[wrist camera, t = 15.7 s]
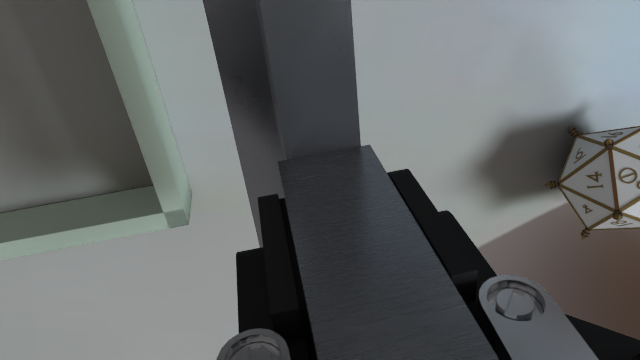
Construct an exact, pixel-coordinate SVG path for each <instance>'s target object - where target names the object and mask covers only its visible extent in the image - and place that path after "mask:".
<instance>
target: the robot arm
mask: <svg viewBox="0 0 640 360" xmlns="http://www.w3.org/2000/svg"><path fill="white" fill-rule="evenodd" d="M387 174H388V176H389V178H390V179H391V181H392V183H393V184H394V186H395V188H396V189H397V191H398V193H399V194H400V196H401V198H402V199H403V201H404V203H405V204H406V206H407V207H408V209H409V211H410V212H411V214H412V216H413V217H414V219H415V221H416V222H417V224H418V226H419V227H420V229H421V231H422V232H423V234H424V236H425V237H426V239H427V241H428V242H429V244H430V246H431V247H432V249H433V251H434V252H435V254H436V256H437V257H438V259H439V261H440V262H441V264H442V266H443V267H444V269H445V271H446V272H447V274H448V276H449V277H450V279H451V281H452V282H453V284H454V286H455V287H456V289H457V291H458V292H459V294H460V296H461V297H462V299H463V301H464V302H465V304H466V306H467V307H468V309H469V311H470V312H471V314H472V316H473V317H474V319H475V321H476V322H477V324H478V326H479V327H480V329H481V331H482V332H483V334H484V336H485V337H486V339H487V341H488V342H489V344H490V345H491V347H492V349H493V350H494V352H495V354H496V355H497V357H498V359H499V360H640V340H637V339H635V338H632V337H629V336H626V335H623V334H620V333H617V332H615V331H612V330H609V329H606V328H603V327H600V326H597V325H595V324H592V323H589V322H586V321H583V320H580V319H577V318H574V317H572V316H569V315H566V314H564V313H563V312H562V310H561V309H560V308H559V306H558V305H557V304H556V302H555V301H554V300H553V298H552V297H551V296H550V294H549V293H548V292H547V291H546V290H545V289H544V288H543V287H542V286H540V285H538V284H537V283H536V282H534V281H532V280H530V279H527V278H524V277H521V276H515V275H499V276H497V275H496V274H495V272H494V271H493V269H492V268H491V267H490V265H489V264H488V263H487V261H486V260H485V259H484V257H483V256H482V254H481V253H480V252H479V250H478V249H477V248H476V246H475V245H474V243H473V242H472V241H471V239H470V238H469V237H468V235H467V234H466V233H465V231H464V230H463V228H462V227H461V226H460V224H459V223H458V222H457V220H456V219H455V217H454V216H453V215H452V214H451V213H450V212H449V211H447V210H446V211H441V212H438V211H437V209H436V208H435V206H434V205H433V204H432V202H431V201H430V199H429V198H428V196H427V195H426V193H425V192H424V191H423V189H422V188H421V186H420V185H419V183H418V182H417V180H416V179H415V178H414V176H413V175H412V173H411V172H410V171H409V169H404V170H398V171H393V172H388V173H387ZM258 207H259V216H260V224H261V233H262V242H263V247H261V248H257V249H252V250H247V251H242V252H237V254H236V266H237V294H238V322H239V334H237V335H236V336H234V337H233V338H231V339H230V340H229V341H228V342H227V343H226V344H225V345H224V346H223V347H222V348H221V350H220V353H219V355H218V357H217V360H316V355H315V350H314V344H313V338H312V333H311V327H310V321H309V316H308V310H307V305H306V300H305V295H304V290H303V285H302V280H301V276H300V271H299V266H298V261H297V256H296V251H295V246H294V241H293V237H292V232H291V227H290V222H289V217H288V212H287V207H286V202H285V198H281V199H279V196H278V193H277V194H272V195H267V196H262V197H258Z"/></svg>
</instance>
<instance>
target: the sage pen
mask: <svg viewBox="0 0 640 360" xmlns="http://www.w3.org/2000/svg"><path fill="white" fill-rule="evenodd" d="M87 3H88V6H89V8H90V11H91V14H92V17H93V20H94V22H95V25H96V28H97V31H98V33H99V36H100V39H101V42H102V44H103V47H104V50H105V53H106V55H107V58H108V61H109V64H110V66H111V69H112V72H113V75H114V77H115V80H116V83H117V86H118V88H119V91H120V94H121V97H122V100H123V102H124V105H125V108H126V111H127V113H128V116H129V119H130V122H131V124H132V127H133V130H134V133H135V135H136V138H137V141H138V144H139V146H140V149H141V152H142V155H143V157H144V160H145V163H146V166H147V168H148V171H149V174H150V177H151V180H152V182H153V186H148V187H142V188H137V189H131V190H126V191H120V192H115V193H109V194H104V195H98V196H93V197H87V198H82V199H76V200H71V201H65V202H60V203H54V204H49V205H43V206H38V207H32V208H27V209H21V210H16V211H10V212H5V213H0V260H6V259H11V258H16V257H21V256H27V255H32V254H37V253H42V252H48V251H53V250H58V249H63V248H69V247H74V246H79V245H84V244H90V243H95V242H100V241H105V240H110V239H116V238H121V237H126V236H131V235H137V234H142V233H147V232H152V231H158V230H163V229H168V228H173V227H179V226H184V225H189V217H190V208H191V199H192V192H191V189H190V186H189V183H188V179H187V176H186V173H185V170H184V167H183V163H182V160H181V157H180V154H179V151H178V147H177V144H176V141H175V138H174V134H173V131H172V128H171V125H170V122H169V118H168V115H167V112H166V109H165V106H164V102H163V99H162V96H161V93H160V90H159V86H158V83H157V80H156V77H155V74H154V70H153V67H152V64H151V61H150V58H149V54H148V51H147V48H146V45H145V42H144V38H143V35H142V32H141V29H140V26H139V22H138V19H137V16H136V13H135V10H134V6H133V3H132V0H87Z"/></svg>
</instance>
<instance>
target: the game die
mask: <svg viewBox="0 0 640 360" xmlns="http://www.w3.org/2000/svg"><path fill="white" fill-rule="evenodd" d="M569 133H570V134H571V136H574V137H575V139H574V142H573V144H572V147H571V149H570V152H569V154H568V157H567V159H566V162H565V164H564V167H563V169H562V172H561V174H560V177H559V180H558V182H555V181H550V182H549V183H548V184H546V185H545V186H548V187H549V188H551V189H552V188H556V187H559V189H560V190H561V192H562V193H563V195H564V196H565V198H566V199H567V201H568V202H569V204H570V205H571V207H572V208H573V209H574V211H575V212H576V214H577V215H578V217H579V218H580V220H581V221H582V223H583V224H584V226H585V227H586V228H585V229H584V230H583V232H582V233H581V236H582V239H584V238H586V237H588V235H589V234H590V230H604V229H634V228H635V229H636V228H640V126H637V127H630V128H623V129H616V130H608V131H601V132H594V133H587V134H580V135H579V134H578V131H576V130H575V128H571V127H569Z"/></svg>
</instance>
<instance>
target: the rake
mask: <svg viewBox="0 0 640 360" xmlns="http://www.w3.org/2000/svg"><path fill="white" fill-rule="evenodd" d="M203 4H204V8H205V12H206V16H207V21H208V25H209V29H210V34H211V38H212V42H213V47H214V51H215V55H216V60H217V64H218V68H219V72H220V77H221V81H222V85H223V90H224V94H225V98H226V103H227V107H228V111H229V116H230V120H231V124H232V129H233V133H234V137H235V141H236V146H237V150H238V154H239V159H240V163H241V167H242V172H243V176H244V180H245V185H246V189H247V193H248V197H249V202H250V206H251V210H252V215H253V219H254V223H255V228H256V232H257V236H258V241H259V245H260V248H261V247H263V242H262V233H261V224H260V216H259V207H258V197H262V196H267V195H272V194H277V193H278V196H279V199H281V198H285V202H286V207H287V212H288V217H289V222H290V227H291V232H292V237H293V241H294V246H295V251H296V256H297V261H298V266H299V271H300V276H301V280H302V285H303V290H304V295H305V300H306V305H307V310H308V316H309V321H310V327H311V333H312V338H313V344H314V350H315V355H316V360H499V359H498V357H497V355H496V354H495V352H494V350H493V349H492V347H491V345H490V344H489V342H488V341H487V339H486V337H485V336H484V334H483V332H482V331H481V329H480V327H479V326H478V324H477V322H476V321H475V319H474V317H473V316H472V314H471V312H470V311H469V309H468V307H467V306H466V304H465V302H464V301H463V299H462V297H461V296H460V294H459V292H458V291H457V289H456V287H455V286H454V284H453V282H452V281H451V279H450V277H449V276H448V274H447V272H446V271H445V269H444V267H443V266H442V264H441V262H440V261H439V259H438V257H437V256H436V254H435V252H434V251H433V249H432V247H431V246H430V244H429V242H428V241H427V239H426V237H425V236H424V234H423V232H422V231H421V229H420V227H419V226H418V224H417V222H416V221H415V219H414V217H413V216H412V214H411V212H410V211H409V209H408V207H407V206H406V204H405V203H404V201H403V199H402V198H401V196H400V194H399V193H398V191H397V189H396V188H395V186H394V184H393V183H392V181H391V179H390V178H389V176H388V174H387V173H386V171H385V169H384V168H383V166H382V164H381V163H380V161H379V159H378V158H377V156H376V154H375V153H374V151H373V149H372V148H371V146H370V145H366V146H361V144H360V129H359V115H358V100H357V86H356V71H355V56H354V42H353V27H352V13H351V0H203Z"/></svg>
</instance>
